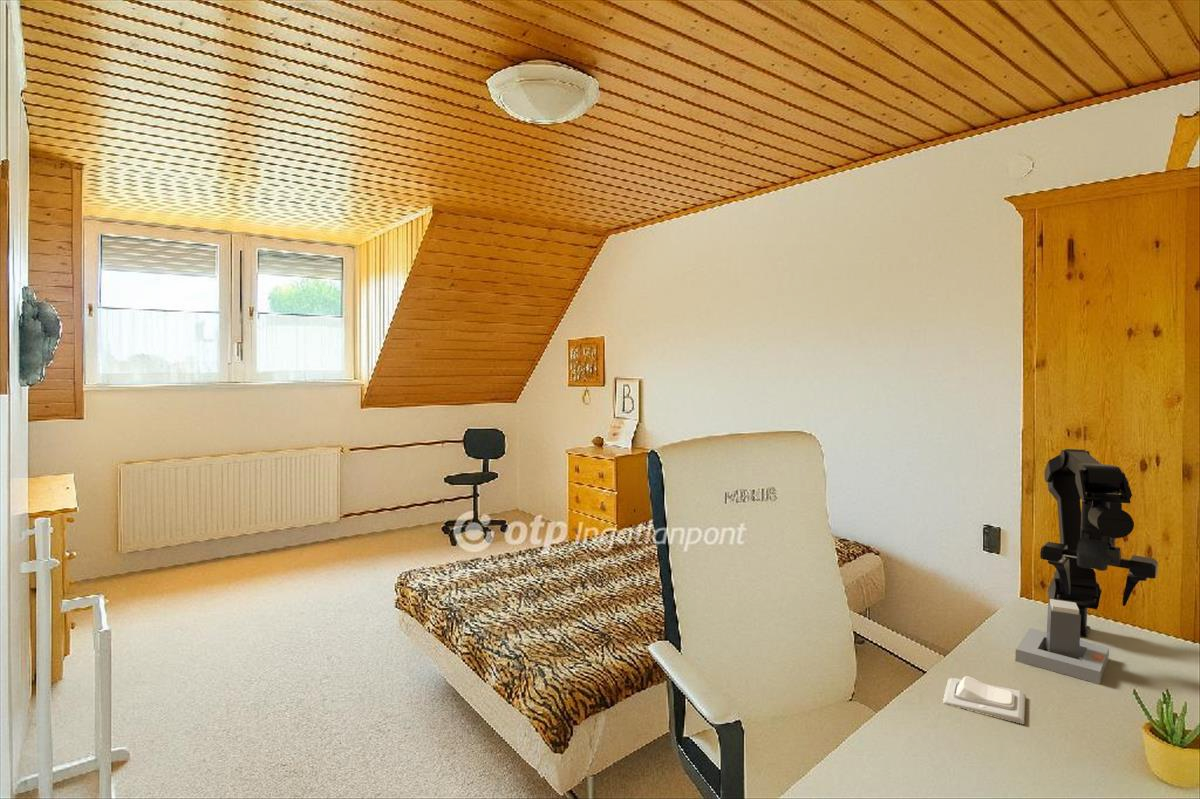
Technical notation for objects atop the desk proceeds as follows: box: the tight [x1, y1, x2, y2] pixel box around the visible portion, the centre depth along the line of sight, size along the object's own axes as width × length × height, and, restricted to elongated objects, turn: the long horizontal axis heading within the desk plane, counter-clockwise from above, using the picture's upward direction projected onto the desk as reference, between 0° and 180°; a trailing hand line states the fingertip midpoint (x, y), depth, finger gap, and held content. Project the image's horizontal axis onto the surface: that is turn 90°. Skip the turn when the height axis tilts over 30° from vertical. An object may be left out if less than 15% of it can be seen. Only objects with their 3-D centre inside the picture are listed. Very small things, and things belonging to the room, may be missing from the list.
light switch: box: [942, 675, 1026, 725], centre depth 118 cm, size 11×4×13 cm
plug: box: [1045, 599, 1081, 660], centre depth 133 cm, size 5×5×12 cm
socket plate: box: [1014, 627, 1110, 685], centre depth 133 cm, size 14×14×3 cm
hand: (1095, 599), depth 132 cm, fingers open, 9 cm apart
